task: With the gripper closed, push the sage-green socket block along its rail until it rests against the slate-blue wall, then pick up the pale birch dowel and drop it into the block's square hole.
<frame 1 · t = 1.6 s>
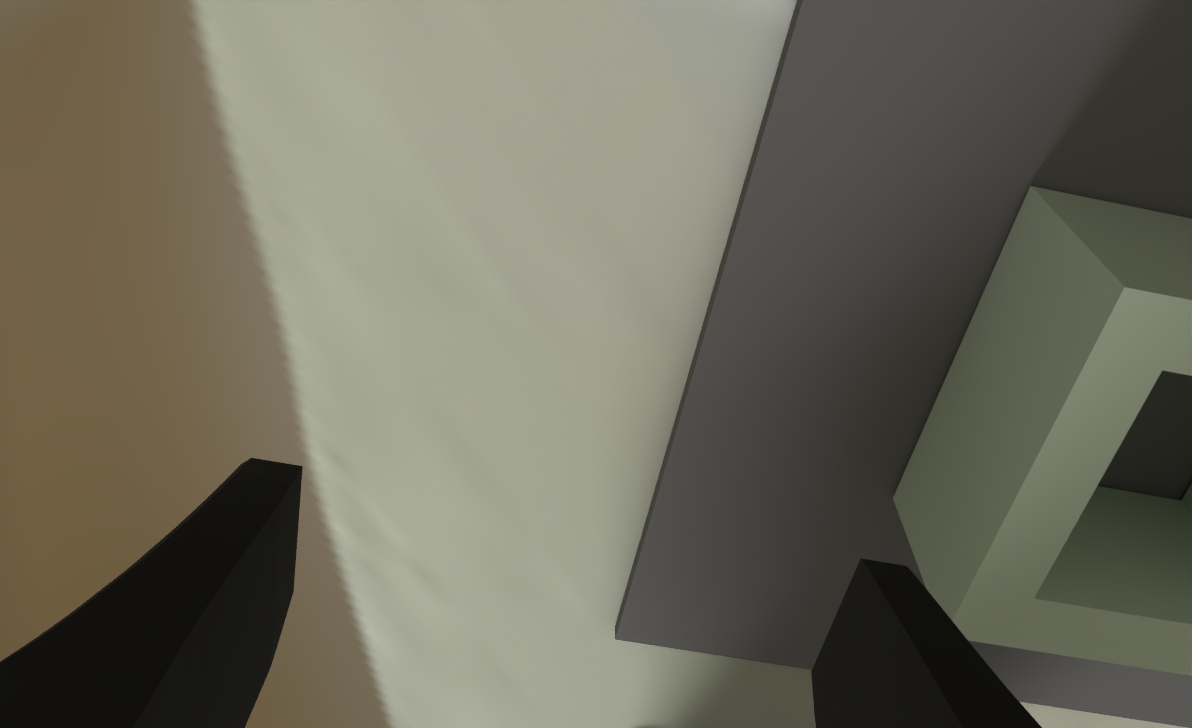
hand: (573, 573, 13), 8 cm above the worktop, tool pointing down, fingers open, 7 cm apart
socket block: (1173, 446, 19), point 3 cm above the worktop, slide at 0.0 cm
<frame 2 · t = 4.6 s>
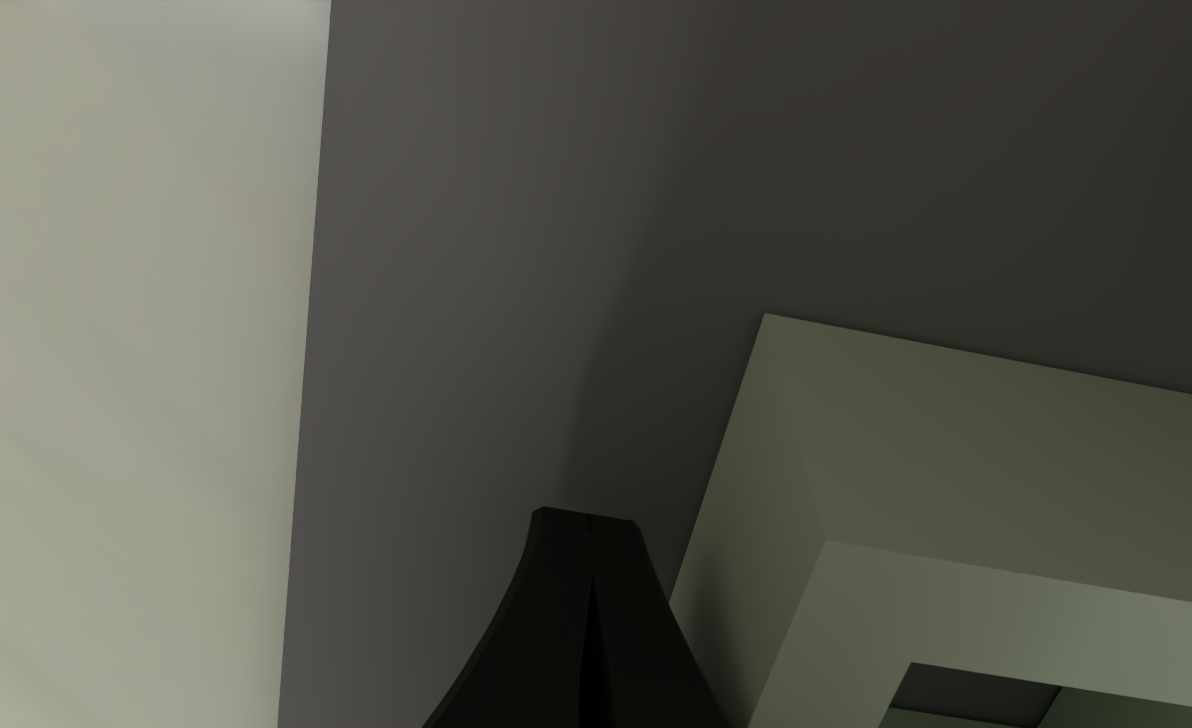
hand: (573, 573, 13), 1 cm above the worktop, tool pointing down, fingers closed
socket block: (989, 704, 13), point 2 cm above the worktop, slide at 0.3 cm, touching gripper
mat: (1160, 573, 15), on the worktop
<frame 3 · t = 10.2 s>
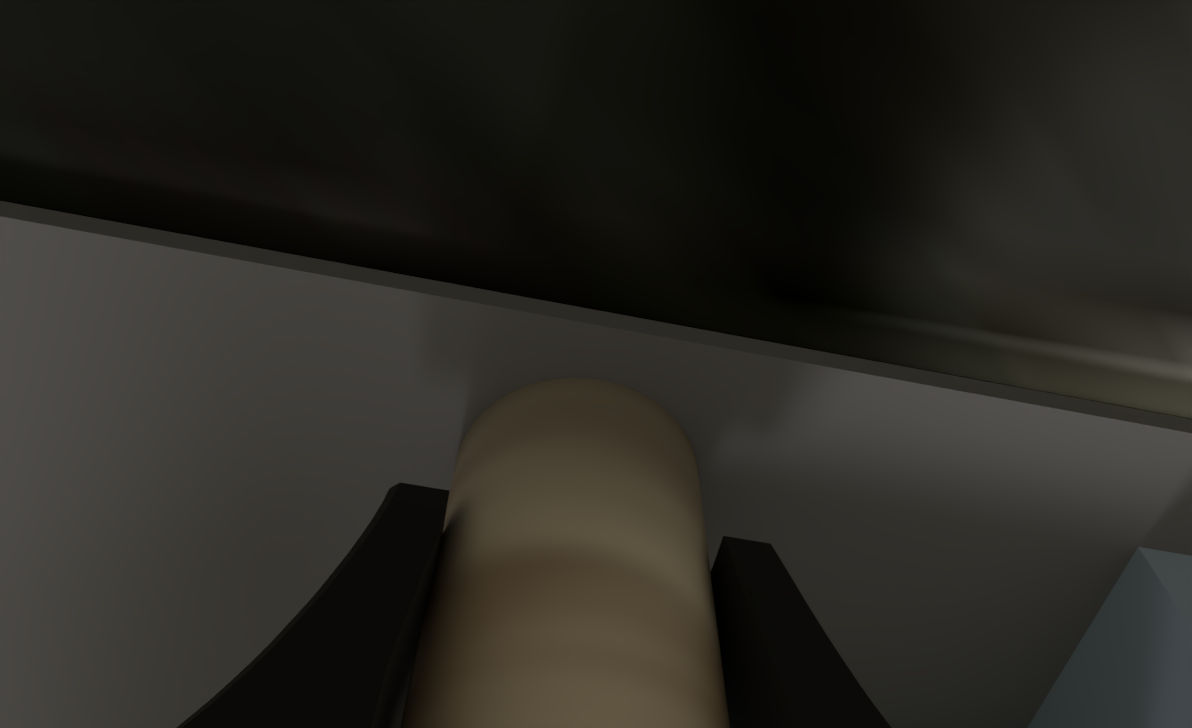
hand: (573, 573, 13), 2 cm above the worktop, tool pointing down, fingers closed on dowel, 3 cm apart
dowel: (576, 481, 15), resting on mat, touching gripper
when the fingers open (5 cm above the worktop, at t = 13.1 s): dowel drops 3 cm, resting on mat.
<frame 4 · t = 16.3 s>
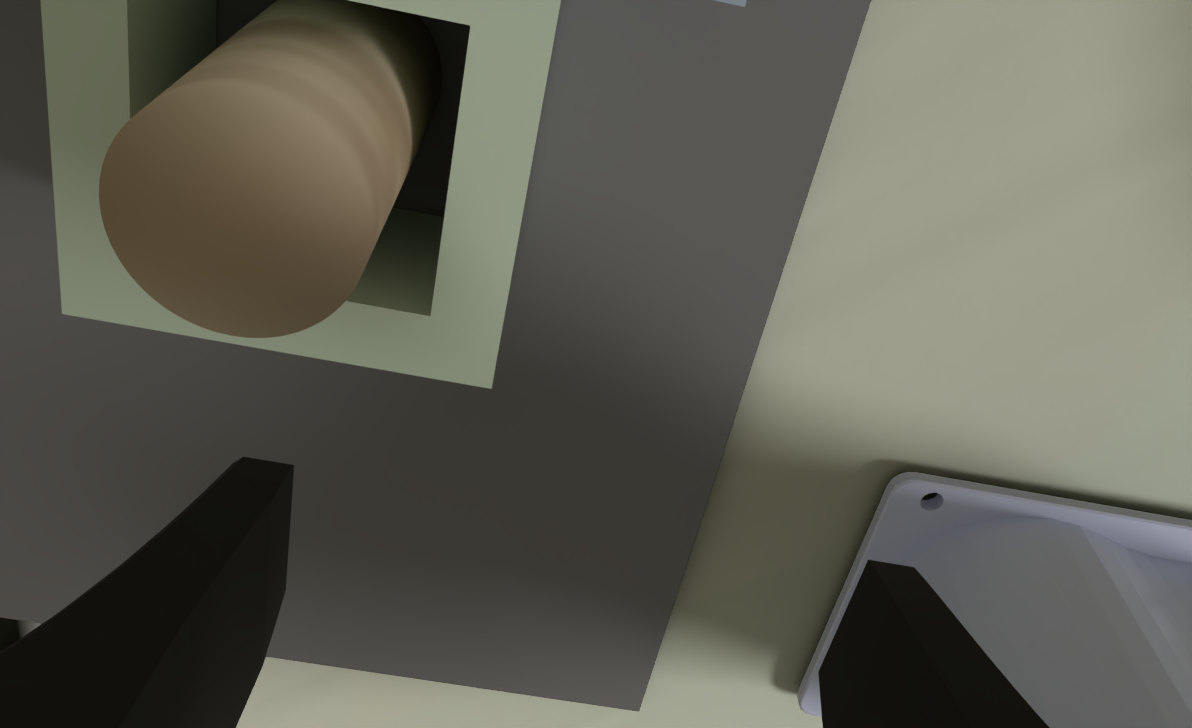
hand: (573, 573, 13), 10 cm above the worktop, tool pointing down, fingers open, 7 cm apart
socket block: (322, 110, 18), point 2 cm above the worktop, slide at 7.1 cm, touching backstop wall
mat: (314, 236, 22), on the worktop
dowel: (350, 71, 19), resting on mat
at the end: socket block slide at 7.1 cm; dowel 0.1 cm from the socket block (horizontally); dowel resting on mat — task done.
